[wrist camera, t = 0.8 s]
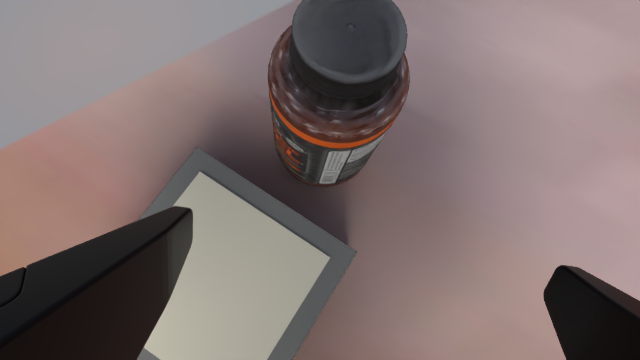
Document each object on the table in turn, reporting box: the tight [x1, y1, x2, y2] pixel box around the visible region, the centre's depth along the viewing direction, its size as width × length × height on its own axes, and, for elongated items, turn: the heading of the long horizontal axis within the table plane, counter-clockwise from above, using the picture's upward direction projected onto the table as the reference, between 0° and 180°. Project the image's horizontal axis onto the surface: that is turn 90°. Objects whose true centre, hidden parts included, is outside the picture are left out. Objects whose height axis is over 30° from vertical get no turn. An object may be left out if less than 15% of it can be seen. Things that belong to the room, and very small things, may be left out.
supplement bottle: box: [268, 0, 410, 186], centre depth 18 cm, size 6×6×11 cm
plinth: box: [137, 147, 357, 360], centre depth 19 cm, size 10×10×3 cm
